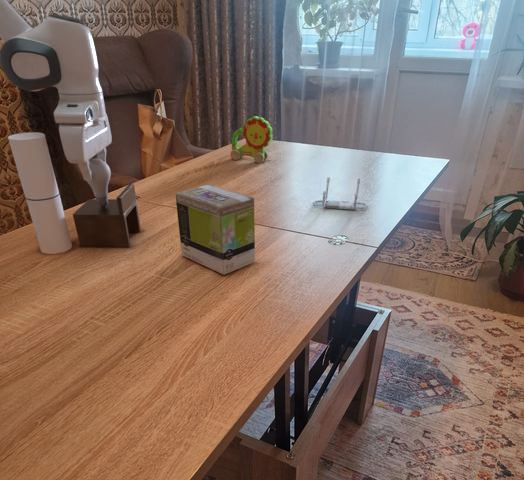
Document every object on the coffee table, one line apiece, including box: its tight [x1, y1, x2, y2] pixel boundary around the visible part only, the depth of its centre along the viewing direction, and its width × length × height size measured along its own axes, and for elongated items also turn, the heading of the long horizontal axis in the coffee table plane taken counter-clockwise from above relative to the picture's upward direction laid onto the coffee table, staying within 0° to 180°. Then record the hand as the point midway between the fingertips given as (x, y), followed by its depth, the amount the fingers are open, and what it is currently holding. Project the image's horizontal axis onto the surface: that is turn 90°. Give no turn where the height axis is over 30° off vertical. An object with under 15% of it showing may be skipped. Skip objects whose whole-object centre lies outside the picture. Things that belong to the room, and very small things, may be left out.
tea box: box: [175, 183, 256, 276], centre depth 105 cm, size 15×10×15 cm
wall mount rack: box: [312, 176, 368, 211], centre depth 138 cm, size 16×14×6 cm
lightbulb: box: [86, 157, 112, 207], centre depth 112 cm, size 6×6×11 cm
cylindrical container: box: [7, 131, 73, 255], centre depth 108 cm, size 7×7×25 cm
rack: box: [72, 182, 142, 249], centre depth 116 cm, size 12×11×12 cm
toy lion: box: [230, 115, 274, 164], centre depth 176 cm, size 16×6×15 cm, turn 66°
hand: (95, 173), depth 111 cm, fingers open, 8 cm apart
